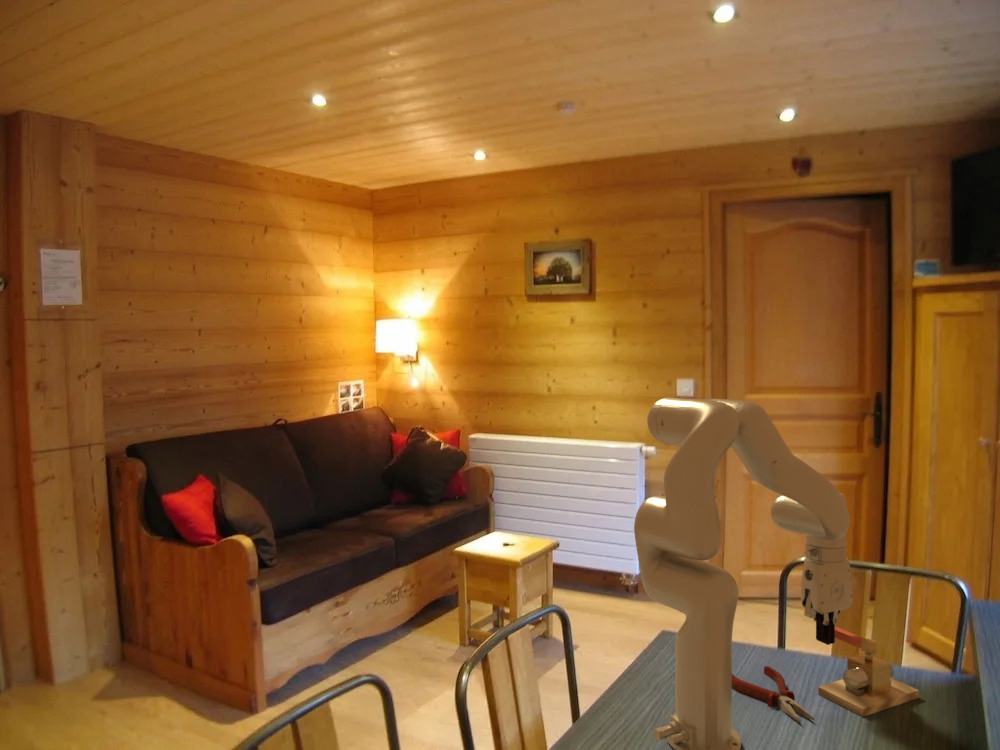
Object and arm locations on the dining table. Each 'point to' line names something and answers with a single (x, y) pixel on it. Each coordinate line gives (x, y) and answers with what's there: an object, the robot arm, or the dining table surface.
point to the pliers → (772, 694)
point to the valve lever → (856, 640)
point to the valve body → (867, 675)
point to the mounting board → (868, 697)
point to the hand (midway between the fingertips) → (825, 641)
